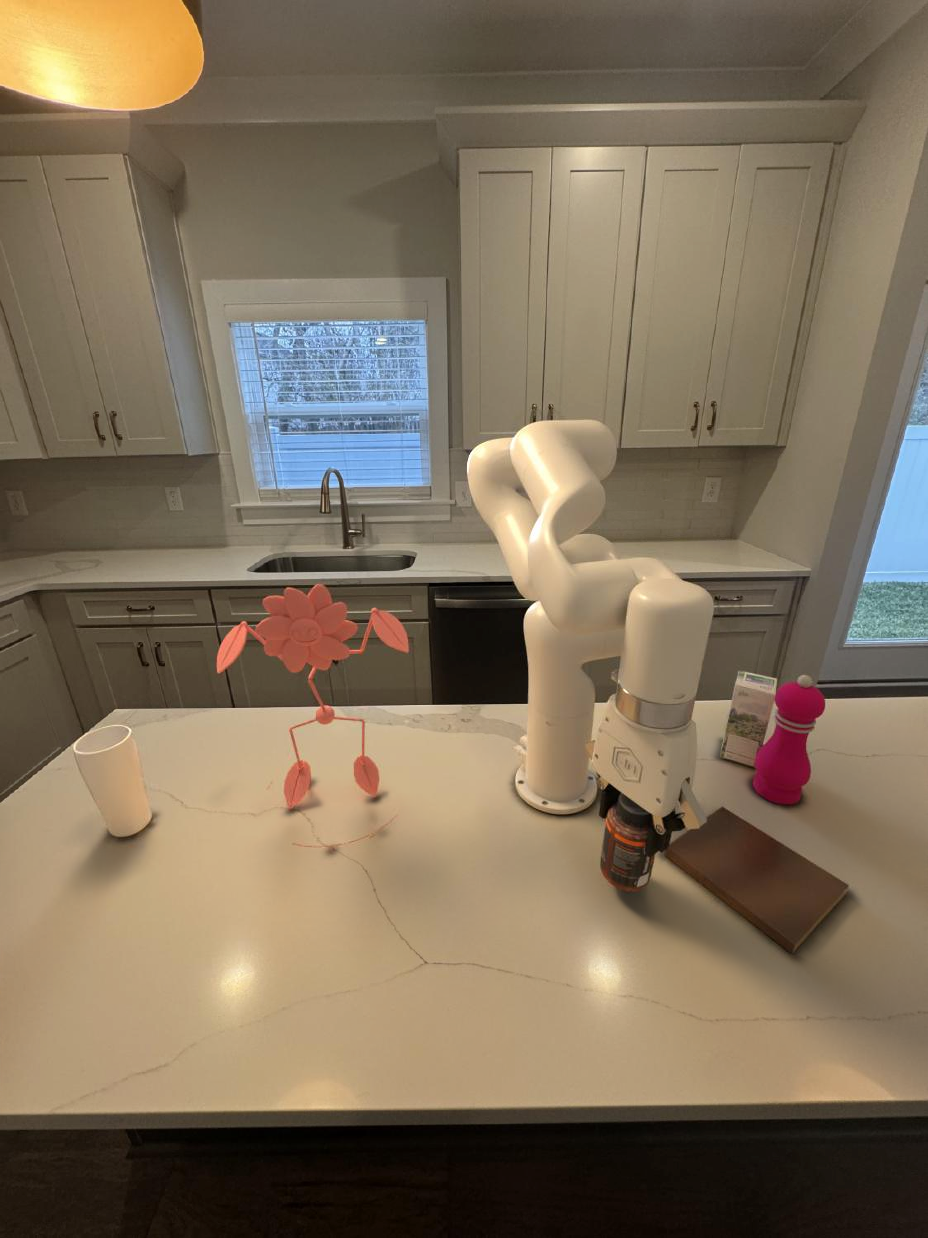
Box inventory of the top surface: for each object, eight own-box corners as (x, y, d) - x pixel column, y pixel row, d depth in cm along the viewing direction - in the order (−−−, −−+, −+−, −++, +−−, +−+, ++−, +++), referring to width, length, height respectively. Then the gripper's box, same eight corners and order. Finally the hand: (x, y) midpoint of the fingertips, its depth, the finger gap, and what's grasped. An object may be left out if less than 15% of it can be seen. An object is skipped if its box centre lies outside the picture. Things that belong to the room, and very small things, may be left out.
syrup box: (760, 751, 87) (778, 676, 81) (757, 770, 82) (776, 692, 77) (723, 740, 90) (738, 668, 84) (718, 759, 85) (734, 683, 80)
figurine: (255, 784, 81) (210, 575, 68) (416, 770, 84) (403, 565, 71) (225, 862, 67) (161, 617, 54) (420, 842, 70) (405, 603, 57)
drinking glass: (168, 816, 75) (142, 731, 69) (123, 849, 69) (91, 759, 64) (138, 803, 78) (111, 719, 72) (93, 834, 72) (59, 746, 66)
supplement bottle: (657, 894, 59) (673, 822, 54) (605, 894, 59) (617, 821, 55) (641, 852, 65) (654, 783, 60) (594, 851, 65) (604, 782, 60)
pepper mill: (811, 810, 74) (848, 691, 66) (757, 804, 75) (787, 686, 68) (792, 778, 80) (823, 665, 73) (743, 772, 82) (768, 662, 74)
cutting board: (664, 855, 67) (665, 846, 66) (720, 814, 74) (722, 806, 73) (791, 954, 55) (795, 944, 54) (845, 894, 61) (849, 885, 61)
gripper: (567, 675, 56) (556, 799, 64) (710, 759, 43) (676, 903, 51) (613, 657, 60) (597, 776, 68) (757, 729, 47) (719, 867, 54)
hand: (631, 829), depth 59 cm, fingers closed on supplement bottle, 5 cm apart
